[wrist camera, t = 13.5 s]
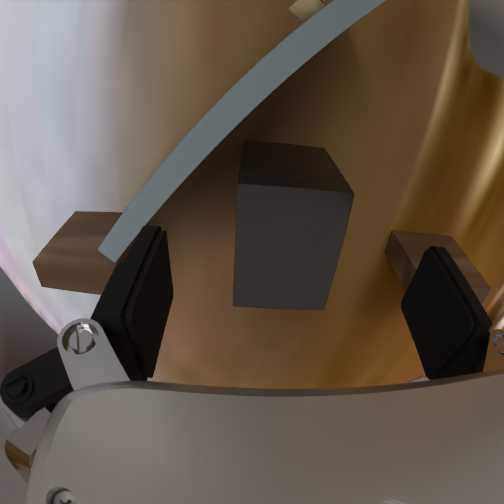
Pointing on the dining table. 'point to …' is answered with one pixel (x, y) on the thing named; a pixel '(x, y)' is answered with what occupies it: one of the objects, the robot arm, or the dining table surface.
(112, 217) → the pair of brown blocks
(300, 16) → the grey curved plank
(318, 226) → the dark grey block
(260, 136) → the dining table surface
